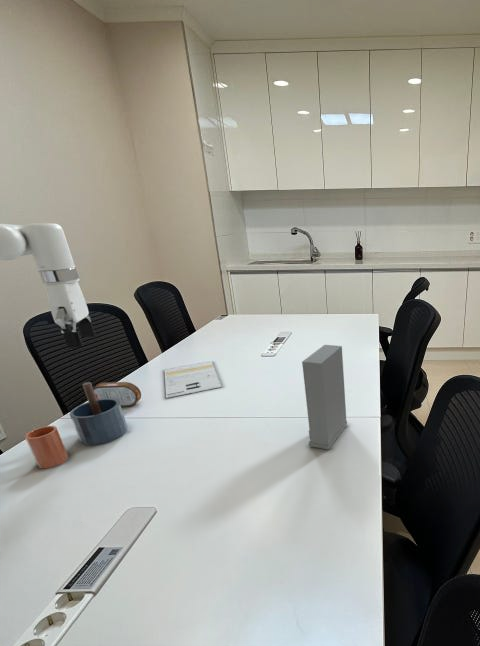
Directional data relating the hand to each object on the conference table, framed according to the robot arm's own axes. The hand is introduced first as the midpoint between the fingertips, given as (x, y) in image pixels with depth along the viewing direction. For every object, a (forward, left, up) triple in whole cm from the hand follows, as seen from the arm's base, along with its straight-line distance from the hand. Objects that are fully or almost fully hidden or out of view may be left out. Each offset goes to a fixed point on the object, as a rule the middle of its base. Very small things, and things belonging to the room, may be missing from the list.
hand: (82, 341), depth 104 cm
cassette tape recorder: (+61, -23, -29) cm, 71 cm away
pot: (-2, 0, -28) cm, 29 cm away
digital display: (+18, +37, -29) cm, 50 cm away
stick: (-2, 0, -28) cm, 28 cm away
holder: (-12, -11, -28) cm, 33 cm away
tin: (-3, +20, -29) cm, 35 cm away
